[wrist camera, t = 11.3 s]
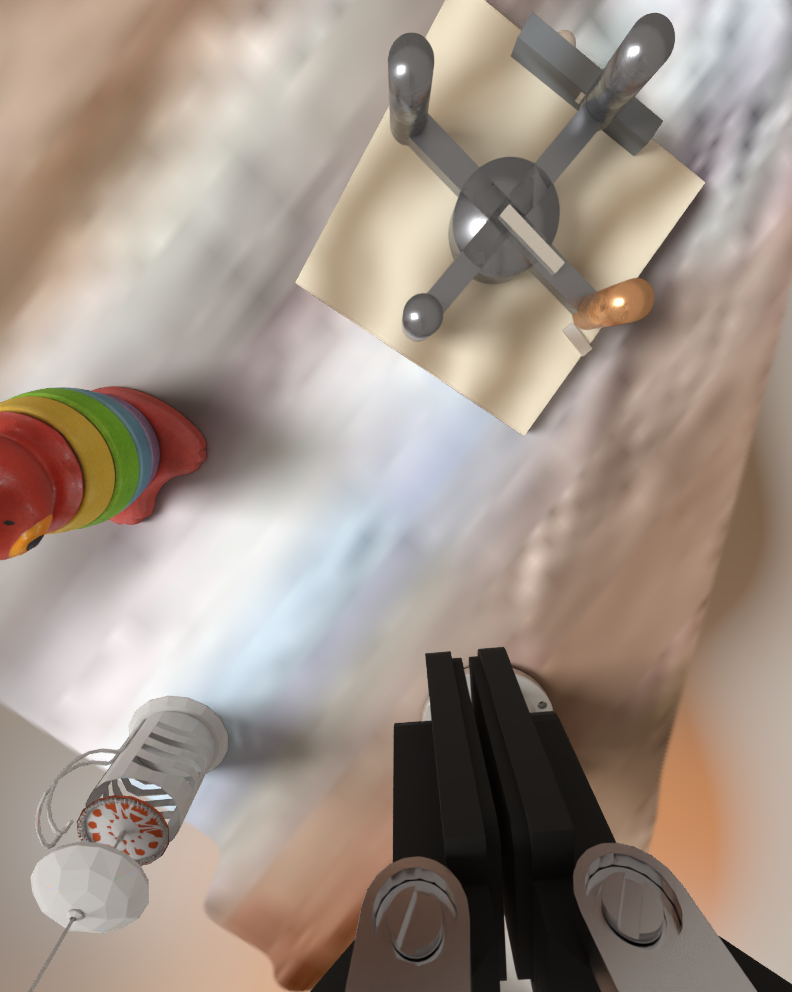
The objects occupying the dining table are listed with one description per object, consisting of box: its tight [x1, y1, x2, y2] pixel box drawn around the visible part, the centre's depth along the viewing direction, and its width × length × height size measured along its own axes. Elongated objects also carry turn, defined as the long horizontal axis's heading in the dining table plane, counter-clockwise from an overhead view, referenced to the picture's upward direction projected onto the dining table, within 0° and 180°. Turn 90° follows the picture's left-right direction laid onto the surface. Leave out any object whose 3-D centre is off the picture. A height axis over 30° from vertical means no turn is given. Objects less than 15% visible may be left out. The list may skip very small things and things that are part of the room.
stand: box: [295, 0, 705, 436], centre depth 32 cm, size 20×21×4 cm
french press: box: [29, 696, 228, 992], centre depth 33 cm, size 10×12×25 cm
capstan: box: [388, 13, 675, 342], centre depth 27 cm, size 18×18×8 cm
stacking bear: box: [0, 387, 207, 560], centre depth 29 cm, size 11×10×18 cm
